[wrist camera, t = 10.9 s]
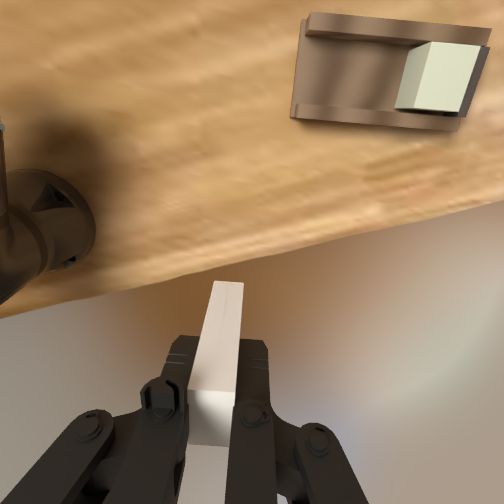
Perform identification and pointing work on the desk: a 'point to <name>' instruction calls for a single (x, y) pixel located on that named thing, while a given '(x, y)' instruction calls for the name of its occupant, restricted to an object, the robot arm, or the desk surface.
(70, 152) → the desk surface
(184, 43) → the desk surface
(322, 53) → the chute
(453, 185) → the desk surface
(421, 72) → the block
